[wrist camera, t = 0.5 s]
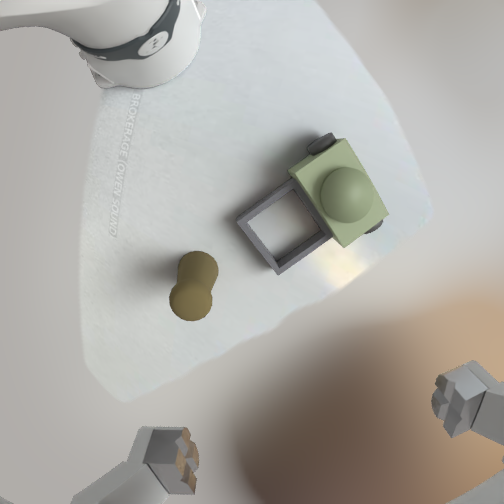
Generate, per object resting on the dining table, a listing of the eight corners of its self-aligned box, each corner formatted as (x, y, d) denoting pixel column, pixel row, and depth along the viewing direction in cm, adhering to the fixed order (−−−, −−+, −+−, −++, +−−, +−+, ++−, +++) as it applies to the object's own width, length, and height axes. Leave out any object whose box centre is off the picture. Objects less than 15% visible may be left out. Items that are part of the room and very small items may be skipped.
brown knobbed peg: (169, 268, 44) (153, 304, 33) (198, 242, 43) (189, 273, 32) (197, 296, 45) (189, 337, 35) (226, 272, 44) (226, 309, 34)
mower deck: (225, 204, 41) (224, 214, 35) (327, 132, 39) (343, 129, 33) (284, 280, 45) (292, 299, 40) (377, 213, 43) (396, 223, 37)
